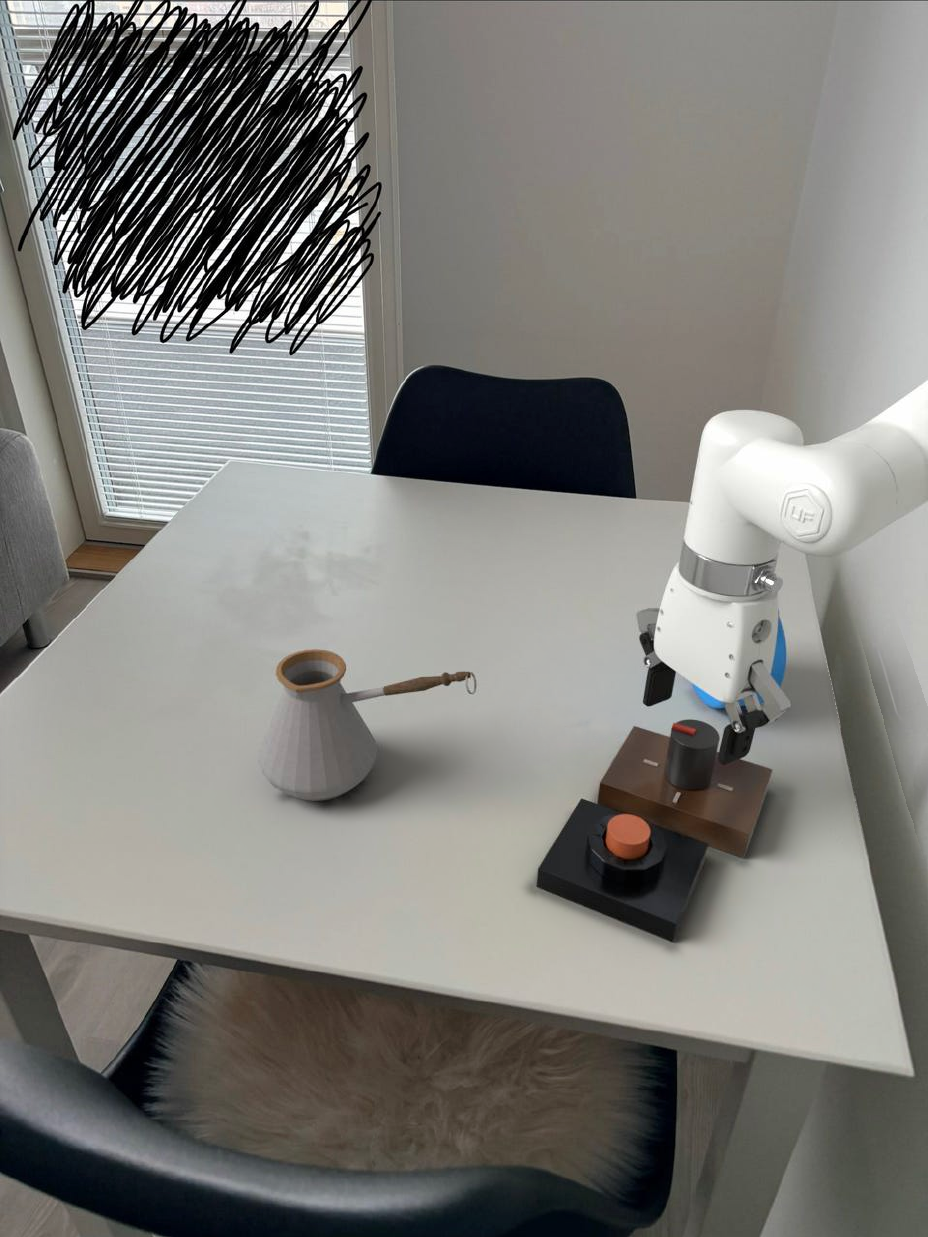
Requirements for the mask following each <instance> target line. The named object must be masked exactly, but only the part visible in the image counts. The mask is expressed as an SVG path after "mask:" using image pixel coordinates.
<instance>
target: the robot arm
mask: <svg viewBox="0 0 928 1237" xmlns="http://www.w3.org/2000/svg"><path fill="white" fill-rule="evenodd" d="M927 502H928V379H927V380H925V381H924V382H923V383H921V384H920V385H918V386H917V387H915V388H914V389H913V390H912V391H910V392H909V393H907V394H906V395H905V396H903V397H902V398H900V399H899V400H898V401H896V402H895V403H893V404H892V405H890V406H889V407H888V408H886V409H885V410H883V411H882V412H880V413H879V414H878V415H876V416H874V417H873V418H871V419H870V420H868V421H866V423H863V424H862V425H860V426H859V427H857V428H855V429H853V430H850V431H847V432H845V433H843V434H841V435H838V436H836V437H835V438H832V439H830V440H828V441H826V442H820V443H819V442H818V443H814V444H808V445H805V444H804V435H803V432H802V430H801V428H800V427H799V426H798V425H797V424H796V423H795V422H794V421H793V420H791V419H789V418H786V417H784V416H782V415H779V414H776V413H772V412H768V411H763V410H755V409H734V410H726V411H723V412H719V413H718V414H716V415H714V416H712V417H711V418H710V419H709V420H708V421H707V422H706V424H705V426H704V427H703V429H702V433H701V437H700V442H699V447H698V453H697V459H696V464H695V470H694V476H693V481H692V488H691V494H690V499H689V506H688V511H687V517H686V523H685V530H684V536H683V539H682V545H681V551H680V557H679V561H678V562H677V563H675V564H674V567H673V569H672V571H671V574H670V576H669V579H668V581H667V583H666V587H665V589H664V593H663V596H662V599H661V602H660V606H659V607H651V608H650V607H647V608H645V609H641V610H638V611H637V612H636V615H635V616H636V621H637V626H638V630H639V632H640V634H639V637H638V639H639V642H640V645H641V648H642V651H643V652H644V655H645V656H644V657H643V660H642V661H643V664H644V666H645V667H646V668H647V674H646V680H645V684H644V685H645V686H644V692H643V698H642V704H643V705H645V706H646V707H652V706H656V705H657V704H660V703H663V702H665V701H668V700H670V699H671V698H672V696H673V690H674V685H675V681H676V675H677V674H679V675H680V676H681V677H683V678H685V679H686V681H689V682H690V683H691V682H692V683H693V684H694V685H696V686H697V687H699V688H700V689H702V690H703V691H705V692H706V693H708V694H709V695H710V696H712V697H714V698H715V699H717V700H719V701H721V702H723V703H724V706H725V708H724V709H725V711H726V714H727V717H728V718H729V722H730V724H727V725H726V726H725V727H724V728H723V732H722V737H721V741H720V744H719V745H720V746H719V751H718V752H719V754H718V761H719V762H720V763H721V764H722V765H726V764H728V763H730V762H732V761H734V760H736V759H741V760H742V759H743V758H745V757H746V756H748V754H749V753H750V751H751V748H752V744H753V739H754V736H755V733H756V732H755V731H756V729H758V728H762V727H764V726H766V725H768V724H770V723H773V722H775V721H777V720H778V718H779V717H781V716H783V714H785V713H786V712H787V711H788V710H790V708H791V706H792V704H791V700H790V699H789V698H788V696H787V695H786V694H785V693H784V691H783V689H782V688H781V687H779V685H778V684H777V683H776V681H775V680H774V679H773V677H772V676H771V670H772V665H773V659H774V654H775V647H776V640H777V631H778V609H779V594H778V592H779V591H780V590H781V589H782V588H783V584H784V580H783V578H781V577H779V576H777V574H776V573H775V572H776V567H777V563H778V556H779V552H780V547H781V543H783V544H784V545H786V546H787V547H790V548H792V549H793V550H795V551H798V552H800V553H802V554H805V555H809V556H812V557H813V556H814V557H819V558H823V557H824V558H827V557H835V556H838V555H842V554H844V553H846V552H849V551H851V550H853V549H854V548H856V547H857V546H859V545H861V544H862V543H863V542H866V541H867V540H868V539H870V538H873V536H875V535H876V534H878V533H879V532H880V531H882V530H884V529H885V528H886V527H888V526H890V525H891V524H893V523H895V522H896V521H898V520H900V519H901V518H904V517H905V516H906V515H908V514H910V513H911V512H913V511H914V510H916V509H918V508H920V507H921V506H922V505H924V504H926V503H927ZM692 683H691V684H692ZM755 691H757V692H758V694H759V695H760V697H761V698H762V699H763V701H764V703H763V706H761V705H762V704H760V703H759V700H758V697H757V694H756V692H755ZM742 699H743V701H744V703H745V709H746V712H747V713H744V714H743V711H742V708H741V706H740V705H739V702H738V701H739V700H742Z"/></svg>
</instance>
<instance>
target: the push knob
mask: <svg viewBox="0 0 928 1237" xmlns="http://www.w3.org/2000/svg"><path fill="white" fill-rule="evenodd" d="M650 833H651V831H650V828H649V826H648V824H647V823H646V822H645V821H644V820H643V819H641V818H639V817H637V816H634V815H630V814H621V815H617V816H615V817H613V818H612V819H611V820H610V821H609V823H608V826H607V834H606V846H607V848H608V849H609V850H610V852H612V853H613V854H614V855H616V856H619V857H622V858H624V859H637V858H640V857H642V856H643V855H645V853H646V852H647V850H648V845H649V839H650Z"/></svg>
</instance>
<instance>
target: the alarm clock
mask: <svg viewBox="0 0 928 1237" xmlns="http://www.w3.org/2000/svg"><path fill="white" fill-rule="evenodd" d="M786 666H787V642H786V635H785V630H784V626H783V622H782V620H781V617H780V610H779V608H778V631H777V640H776V647H775V654H774V659H773V665H772V670H771V676H772V677H773V679H774V680H775V681H776V683H777V684H778V685H779V687H780V688H781V686H782V683H783V681H784V677H785V673H786ZM690 684H691V685H692V687H693V689H694V691H695V693H696V695H697V696H698V698H699V699H700V700H701V701H702V702H703V703H704V704H705V705H706V706H708V707H710V708H713V709H726V708H725V706H724V703H723V702H721V701H719V700H717V699H715V698H714V697H712V696H710V695H709V694H708V693H706V692H705V691H703V690H702V689H700V688H699V687H697V686H696V685H694V684H693V683H692V682H690ZM755 692H756V694H757V697H758V700H759V703H760V705H762V704H763V705H764V701H763V699H762V698H761V697H760V695H759V694H758V692H757V691H755ZM738 702H739V705H740V707H744V706H745V703H744V701H743V699H742V700H739V701H738ZM745 707H746V706H745Z"/></svg>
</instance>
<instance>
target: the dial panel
mask: <svg viewBox="0 0 928 1237" xmlns="http://www.w3.org/2000/svg"><path fill="white" fill-rule="evenodd" d="M669 740H670V736H668V735H665V734H661V733H658V732H655V731H652V730H649V729H646V728H644V727H643V728H642V727H639V726H636V725H633V727H632V728H631V730H630V732H629V733H628V735H627V736H626V738H625V740H624V741H623V743H622V744H621V747H620V748H619V750H618V752H617V753H616V755H615V756H614V758H613V759H612V761H611V763H610V765H609V767H608V769H607V770H606V771H605V773H604V775H603V777H602V778H601V780H600V782H599V786H598V788H599V789H598V796H597V802H596V804H599V805H602V806H605V807H607V808H610V809H613V810H616V811H619V812H621V813H624V814H631V815H634V816H637V817H640V818H643V819H645V820H648V821H650V822H651V823H652V824H655V825H658V826H661V827H663V828H666V829H669V830H672V831H675V832H677V833H680V834H683V835H686V836H689V837H691V838H694V839H697V840H700V841H703V842H705V843H708V844H709V845H708V847H711V848H713V849H716V850H719V851H722V852H724V853H728V854H729V855H733V856H736V857H739V858H741V859H745V857H746V854H747V852H748V849H749V846H750V844H751V843H750V842H751V839H752V837H753V834H754V831H755V828H756V826H757V822H758V819H759V816H760V814H761V811H762V808H763V805H764V802H765V801H766V800H765V799H766V796H767V794H768V790H769V786H770V782H771V778H772V774H773V768H770V767H766V766H764V765H760V764H757V763H754V762H751V761H747V760H744V759H742V758H741V759H736V760H734V761H732V762H730V763H728V764H726V765H722V764H721V763H720V762H719V761H718V754H719V751H717V754H716V759H715V764H714V769H713V774H712V778H711V782H710V784H709V785H708V786H707V787H705V788H703V789H701V790H685V789H681V788H679V787H676V786H675V785H673V784H672V783H670V782H669V781H668V780H667V778H666V777H665V774H664V769H665V763H666V757H667V751H668V745H669Z"/></svg>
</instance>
